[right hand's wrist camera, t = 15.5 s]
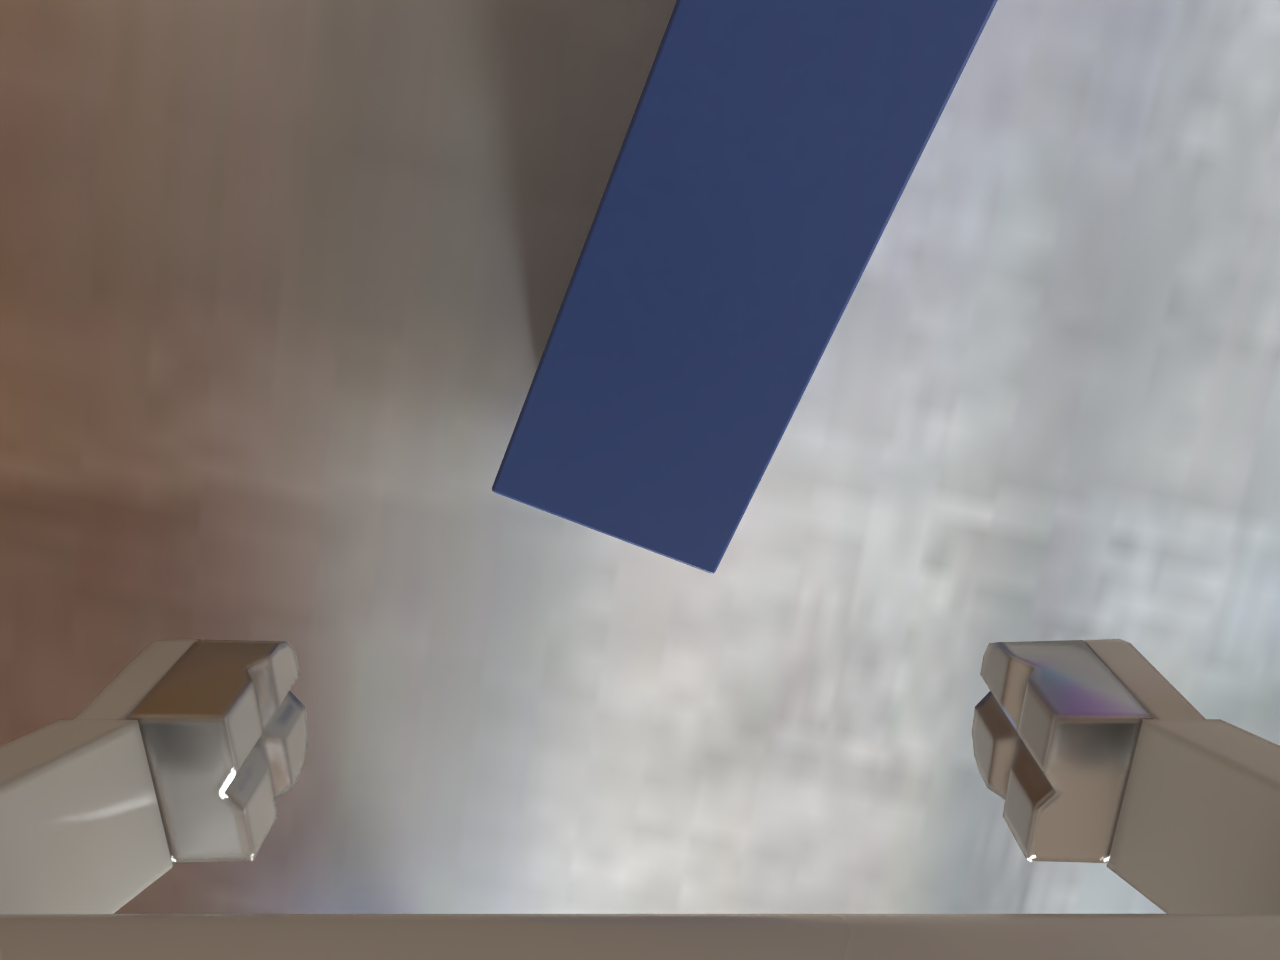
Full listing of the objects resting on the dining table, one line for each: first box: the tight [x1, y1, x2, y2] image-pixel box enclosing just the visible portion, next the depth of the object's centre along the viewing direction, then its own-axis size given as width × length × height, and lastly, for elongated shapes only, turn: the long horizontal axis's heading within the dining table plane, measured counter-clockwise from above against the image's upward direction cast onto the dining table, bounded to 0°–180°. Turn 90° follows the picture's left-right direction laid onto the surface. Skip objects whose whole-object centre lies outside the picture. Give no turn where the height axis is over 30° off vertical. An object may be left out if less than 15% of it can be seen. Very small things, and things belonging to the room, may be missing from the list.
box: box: [492, 0, 997, 574], centre depth 23 cm, size 26×6×10 cm, turn 158°
